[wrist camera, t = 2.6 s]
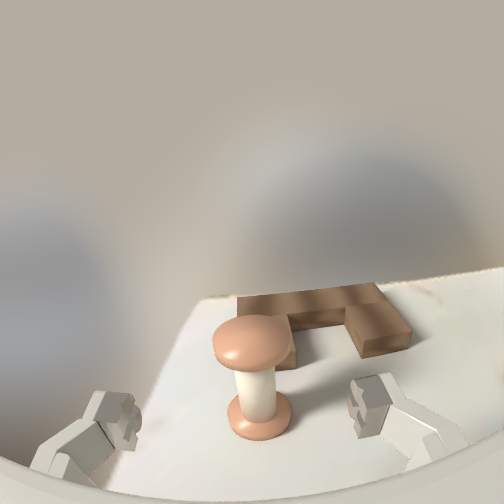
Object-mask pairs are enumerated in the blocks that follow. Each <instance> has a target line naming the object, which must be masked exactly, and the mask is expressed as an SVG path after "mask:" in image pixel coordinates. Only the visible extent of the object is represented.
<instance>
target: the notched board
mask: <svg viewBox="0 0 504 504" xmlns="http://www.w3.org/2000/svg"><path fill="white" fill-rule="evenodd" d="M245 315H266V316H270V317H274V318H276V319H279V320H280V321H282V322H283V323H285V324H286V326H287V327H288V328H289V331H290V351H289V354H288V355H287V357H286V358H285V359H284V360H283V361H282V362H281V363H279V364H278V365H276V366H275V371H283V370H292V369H296V348H295V344H294V340H293V336H292V332H291V331H297V330H305V329H313V328H321V327H328V326H335V325H342V324H344V325H345V327H346V329H347V331H348V333H349V335H350V337H351V339H352V341H353V343H354V345H355V347H356V349H357V351H358V353H359V355H360V357H361V359H363V358H368V357H373V356H378V355H383V354H388V353H392V352H397V351H401V350H405V349H408V347H409V343H410V338H411V334H412V330H411V328H410V327H409V326H408V325H407V323H406V322H405V321H404V319H403V318H402V317H401V316H400V314H399V313H398V312H397V311H396V309H395V308H394V307H393V306H392V304H391V303H390V302H389V301H388V299H387V298H386V297H385V296H384V294H383V293H382V292H381V291H380V290H379V288H378V287H377V286H376V285H375V283H374V282H373V283H365V284H358V285H349V286H341V287H333V288H325V289H316V290H307V291H298V292H289V293H279V294H269V295H258V296H248V297H237V317H240V316H245Z"/></svg>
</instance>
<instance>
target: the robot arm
mask: <svg viewBox="0 0 504 504" xmlns="http://www.w3.org/2000/svg"><path fill="white" fill-rule="evenodd" d="M350 388H351V390H352V392H351V393H350V394H349V395H348V410H349V414H350V417H351V418H352V419H354V420H355V423H354V428H355V431H356V434H357V437H358V439H361V438H366V437H371V436H375V435H379V436H380V437H382V438H383V439H384V440H386V441H387V442H388V443H389V444H391V445H392V446H393V447H394V448H396V449H397V450H398V451H400V452H401V453H402V454H404V455H405V456H406V457H408V458H409V459H410V461H409V463H408V464H407V466H406V467H405V469H404V471H403V473H400V474H397V475H394V476H391V477H387V478H384V479H381V480H377V481H373V482H370V483H366V484H362V485H358V486H354V487H349V488H345V489H340V490H335V491H330V492H324V493H319V494H312V495H306V496H299V497H291V498H282V499H271V500H258V501H235V502H207V501H184V500H171V499H160V498H151V497H144V496H137V495H130V494H124V493H118V492H113V491H108V490H103V489H99V488H97V487H96V485H95V484H94V483H93V482H92V481H91V480H90V479H89V478H88V477H89V476H90V475H91V474H92V473H94V471H95V470H97V469H98V468H99V467H100V465H102V464H103V463H104V462H105V461H106V459H107V458H108V457H109V456H110V455H111V454H112V453H113V452H114V451H115V450H124V451H135V448H136V444H137V441H138V438H137V436H136V433H137V432H138V431H140V429H141V425H142V416H141V412H140V409H139V408H138V407H137V406H136V405H134V402H135V399H134V397H133V395H132V394H127V393H118V392H106V391H95V392H94V394H93V396H92V398H91V400H90V402H89V404H88V407H87V409H86V411H85V413H84V416H83V418H82V419H78V420H76V421H75V422H74V423H72V424H71V425H69V426H68V427H67V428H65V429H64V430H62V431H61V432H59V433H58V434H56V435H55V436H53V437H52V438H50V439H49V440H47V441H46V442H45V443H43V444H42V445H40V446H39V448H38V450H37V453H36V455H35V457H34V459H33V461H32V463H31V465H30V468H27V467H25V466H22V465H20V464H17V463H15V462H12V461H10V460H8V459H5V458H3V457H1V456H0V504H504V428H502V429H500V430H499V431H497V432H495V433H493V434H491V435H490V436H488V437H486V438H484V439H482V440H480V441H478V442H476V443H474V444H472V445H470V446H469V444H468V442H467V441H466V439H465V437H464V436H463V434H462V432H461V430H460V429H459V427H458V425H457V424H456V423H455V422H453V421H451V420H449V419H447V418H445V417H443V416H441V415H439V414H437V413H435V412H433V411H431V410H429V409H427V408H425V407H424V406H422V405H420V404H418V403H416V402H414V401H412V400H406V398H405V396H404V394H403V392H402V391H401V389H400V387H399V385H398V384H397V382H396V380H395V378H394V377H393V375H392V373H390V372H386V373H382V374H377V375H372V376H367V377H363V378H358V379H353V380H352V381H351V385H350Z"/></svg>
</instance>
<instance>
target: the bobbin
mask: <svg viewBox="0 0 504 504" xmlns="http://www.w3.org/2000/svg"><path fill="white" fill-rule="evenodd" d="M212 341H213V347H214V352H215V356H216V358H217V360H218V361H219V362H220V363H221V364H222V365H224V366H225V367H227V368H229V369H232V370H234V372H235V378H236V384H237V390H238V396H236V397H235V398H234V399H233V400H232V401H231V403H230V405H229V407H228V419H229V423H230V426H231V428H232V429H233V431H234V432H235V433H236V434H238V435H239V436H241V437H243V438H245V439H248V440H253V441H263V440H268V439H272V438H274V437H276V436H278V435H280V434H281V433H282V432H284V430H285V429H286V428H287V427H288V425H289V423H290V419H291V407H290V404H289V401H288V400H287V399H286V397H285V396H283V395H282V394H281V393H279V392H277V391H276V382H275V366H276V365H278V364H279V363H281V362H282V361H283V360H284V359H285V358H286V357H287V355H288V354H289V351H290V331H289V328H288V327H287V326H286V324H285V323H283V322H282V321H280V320H279V319H276V318H274V317H270V316H266V315H245V316H240V317H236V318H233V319H231V320H229V321H227V322H225V323H223V324H222V325H221V326H219V327H218V328H217V330H216V331H215V332H214V335H213V338H212Z"/></svg>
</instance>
